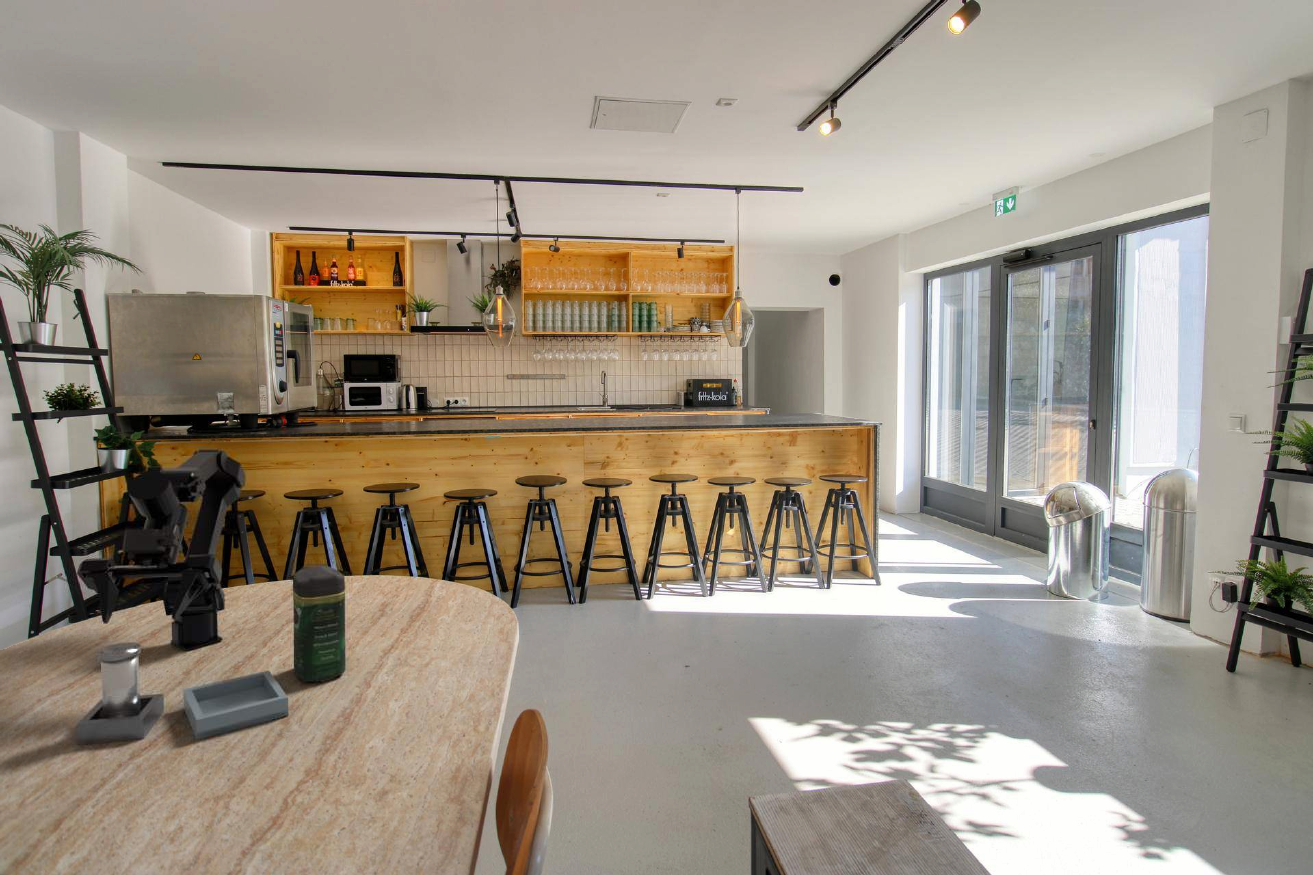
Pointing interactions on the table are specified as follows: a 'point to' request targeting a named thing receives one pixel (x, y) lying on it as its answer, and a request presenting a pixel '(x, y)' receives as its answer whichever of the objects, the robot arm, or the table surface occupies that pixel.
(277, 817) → the table surface
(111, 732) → the grey square tray
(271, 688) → the parts tray
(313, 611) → the coffee jar
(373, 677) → the table surface
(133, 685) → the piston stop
